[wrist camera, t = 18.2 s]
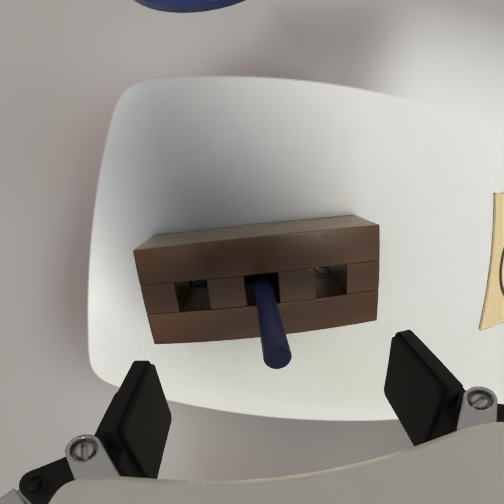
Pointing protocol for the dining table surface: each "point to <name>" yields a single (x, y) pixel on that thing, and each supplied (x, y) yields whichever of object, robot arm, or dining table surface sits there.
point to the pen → (270, 324)
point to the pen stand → (259, 262)
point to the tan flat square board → (495, 270)
